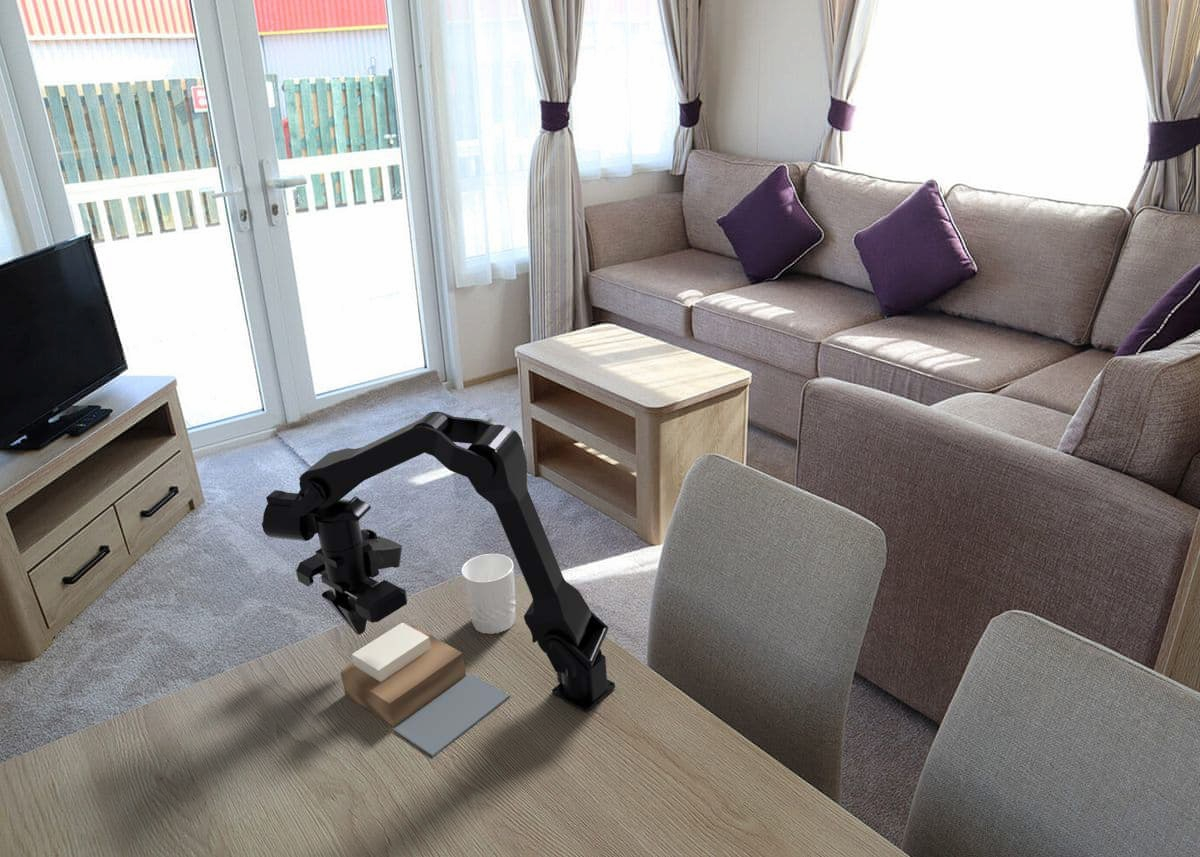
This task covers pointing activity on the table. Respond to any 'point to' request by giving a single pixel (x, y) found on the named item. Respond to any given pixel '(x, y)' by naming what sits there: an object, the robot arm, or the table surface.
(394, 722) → the tan beveled block
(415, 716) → the mat
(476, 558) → the white cup
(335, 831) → the table surface
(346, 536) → the robot arm
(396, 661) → the white sticky note pad
